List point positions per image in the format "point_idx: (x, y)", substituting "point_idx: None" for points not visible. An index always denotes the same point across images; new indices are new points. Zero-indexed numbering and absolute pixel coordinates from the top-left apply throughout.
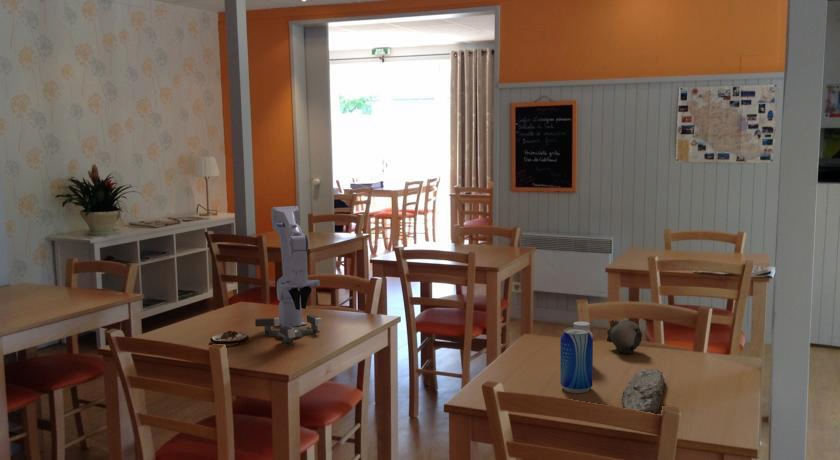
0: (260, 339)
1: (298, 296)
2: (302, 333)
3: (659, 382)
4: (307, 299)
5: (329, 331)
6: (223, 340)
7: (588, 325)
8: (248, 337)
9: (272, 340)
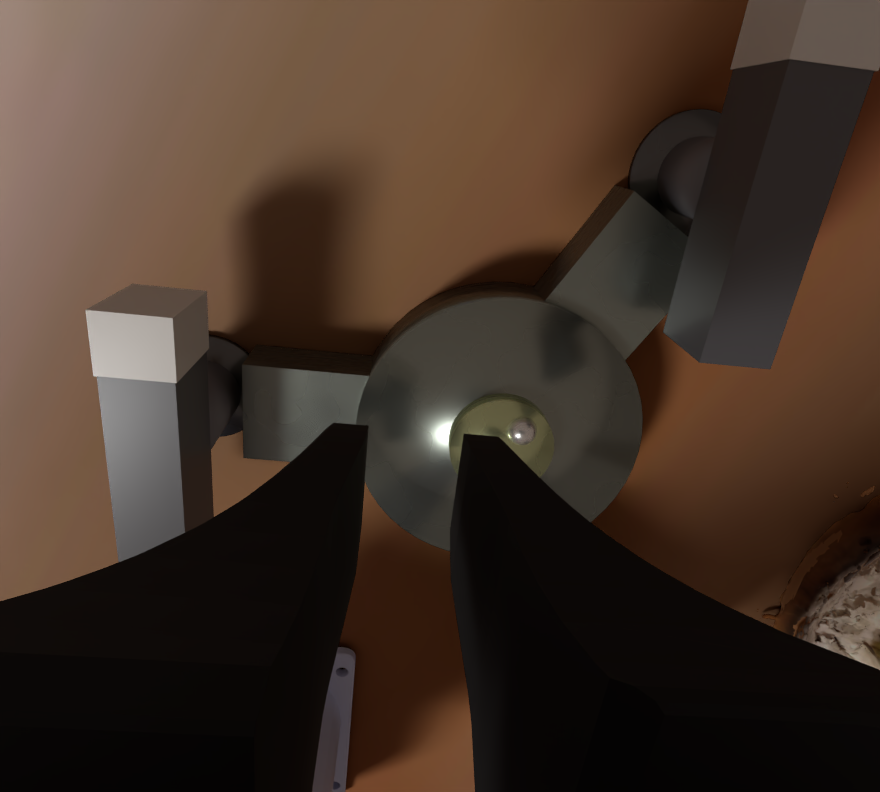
0: (731, 506)
1: (598, 587)
2: (404, 326)
3: None
4: (251, 496)
5: (61, 291)
6: None
7: None
8: (853, 544)
9: (690, 407)
